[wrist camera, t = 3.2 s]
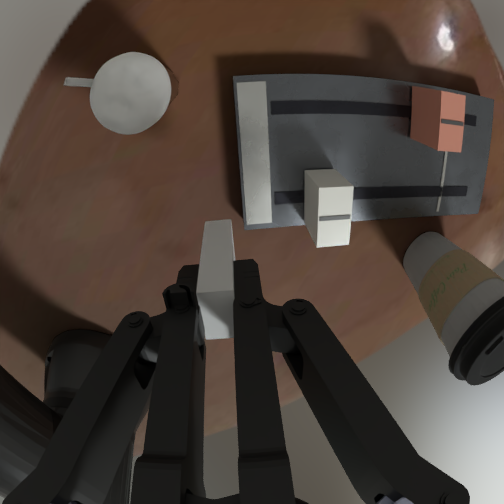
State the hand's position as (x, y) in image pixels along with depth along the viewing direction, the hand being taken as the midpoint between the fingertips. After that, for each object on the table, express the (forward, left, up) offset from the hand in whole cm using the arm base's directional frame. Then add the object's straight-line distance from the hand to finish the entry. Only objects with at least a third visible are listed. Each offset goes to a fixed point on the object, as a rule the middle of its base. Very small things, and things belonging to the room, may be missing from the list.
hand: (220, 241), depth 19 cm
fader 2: (+17, +7, -6) cm, 19 cm away
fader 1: (+8, 0, -6) cm, 10 cm away
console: (+14, +3, -8) cm, 16 cm away
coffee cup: (+21, -8, -9) cm, 24 cm away
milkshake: (-4, +9, -9) cm, 13 cm away
